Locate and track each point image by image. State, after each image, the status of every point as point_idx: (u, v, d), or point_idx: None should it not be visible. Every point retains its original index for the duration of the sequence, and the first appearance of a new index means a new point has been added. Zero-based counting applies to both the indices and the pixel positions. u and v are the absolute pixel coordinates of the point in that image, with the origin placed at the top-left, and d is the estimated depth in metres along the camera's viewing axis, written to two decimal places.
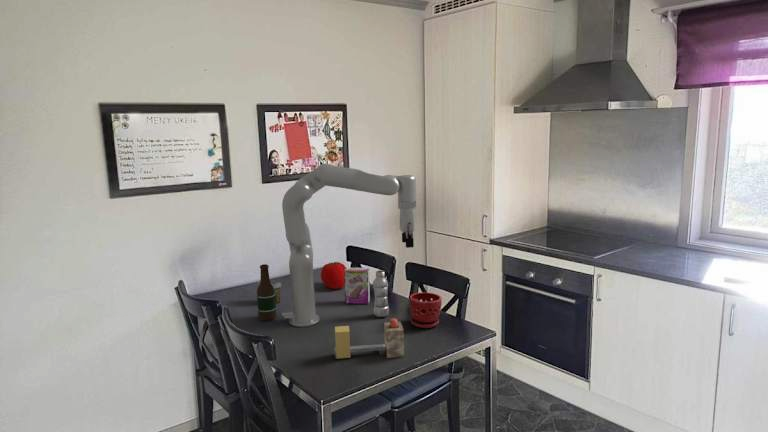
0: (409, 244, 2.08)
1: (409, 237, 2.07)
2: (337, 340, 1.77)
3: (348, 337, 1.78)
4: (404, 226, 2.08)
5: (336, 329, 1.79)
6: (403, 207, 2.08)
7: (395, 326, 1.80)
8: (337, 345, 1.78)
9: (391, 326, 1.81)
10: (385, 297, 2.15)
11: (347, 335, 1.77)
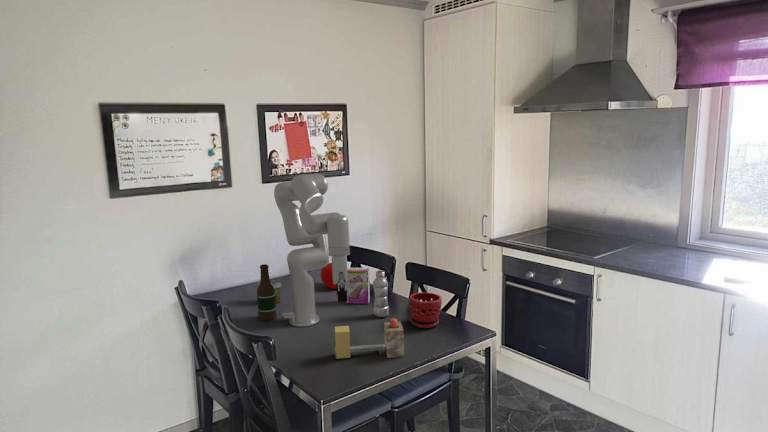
0: (341, 298, 1.74)
1: (341, 290, 1.73)
2: (337, 340, 1.77)
3: (348, 337, 1.78)
4: (335, 277, 1.74)
5: (336, 329, 1.79)
6: (333, 254, 1.74)
7: (395, 326, 1.80)
8: (337, 345, 1.78)
9: (391, 326, 1.81)
10: (385, 297, 2.15)
11: (347, 335, 1.77)
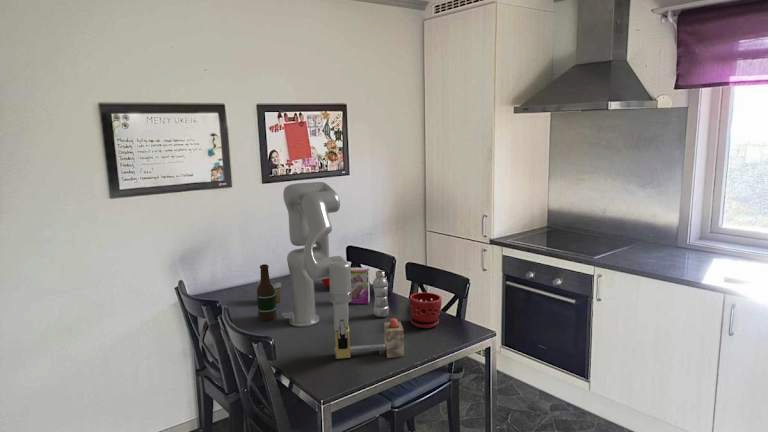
0: (342, 345, 1.76)
1: (342, 338, 1.75)
2: (337, 340, 1.77)
3: (348, 337, 1.78)
4: (336, 324, 1.74)
5: None
6: (335, 301, 1.74)
7: (395, 326, 1.80)
8: (337, 345, 1.78)
9: (391, 326, 1.81)
10: (385, 297, 2.15)
11: (347, 335, 1.77)
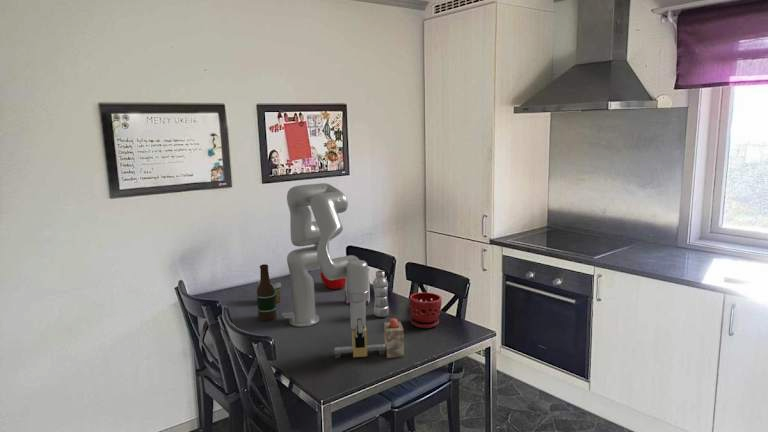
0: (359, 344, 1.77)
1: (359, 337, 1.76)
2: (354, 339, 1.78)
3: (365, 335, 1.78)
4: (353, 323, 1.74)
5: None
6: (352, 300, 1.75)
7: (395, 326, 1.80)
8: (354, 344, 1.78)
9: (391, 326, 1.81)
10: (385, 297, 2.15)
11: (364, 334, 1.78)
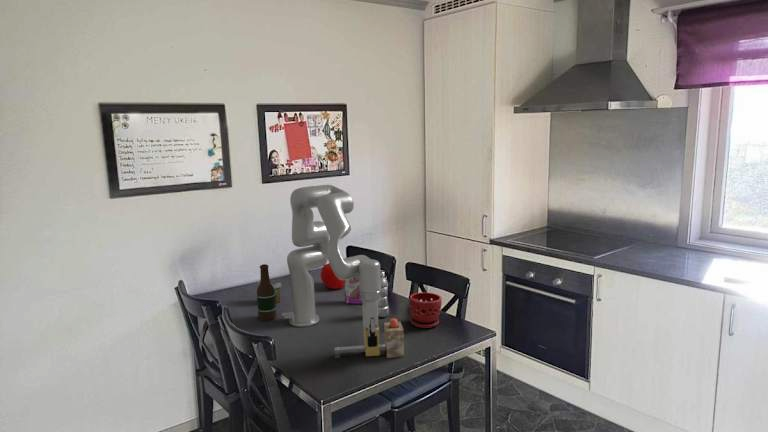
0: (372, 343, 1.78)
1: (371, 336, 1.77)
2: (367, 338, 1.78)
3: (377, 335, 1.79)
4: (366, 322, 1.75)
5: None
6: (365, 299, 1.75)
7: (395, 326, 1.80)
8: (367, 343, 1.79)
9: (391, 326, 1.81)
10: (385, 297, 2.15)
11: (377, 333, 1.79)
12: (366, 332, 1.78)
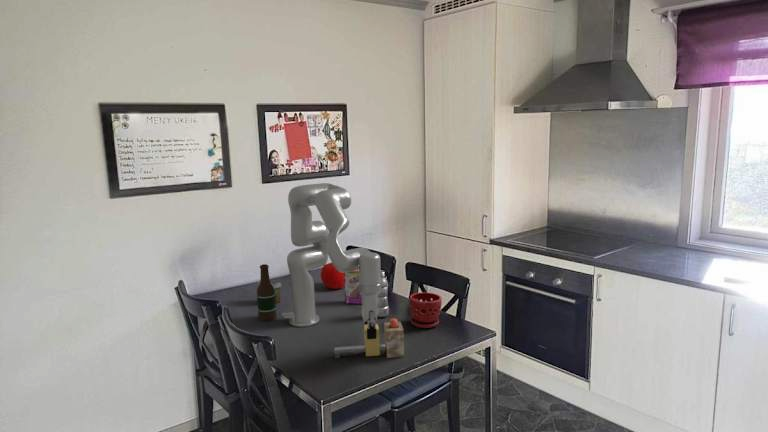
0: (371, 336, 1.76)
1: (371, 328, 1.75)
2: None
3: (377, 335, 1.79)
4: (365, 315, 1.75)
5: (365, 327, 1.80)
6: (365, 292, 1.75)
7: (395, 326, 1.80)
8: (367, 343, 1.79)
9: (391, 326, 1.81)
10: (385, 297, 2.15)
11: (377, 333, 1.79)
12: (366, 332, 1.78)
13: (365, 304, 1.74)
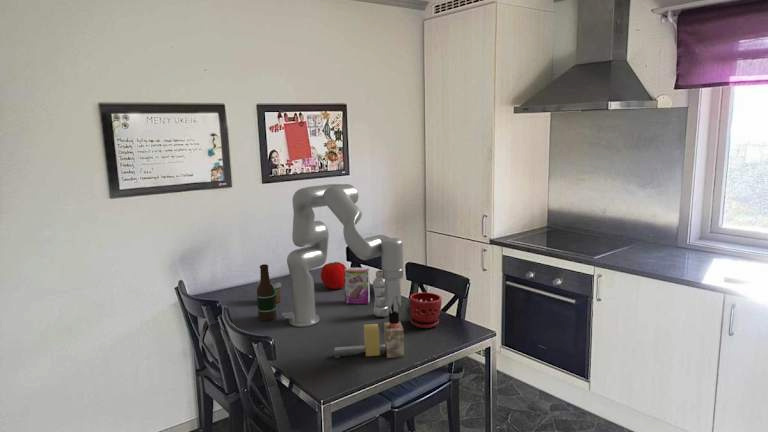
0: (393, 320, 1.80)
1: (393, 312, 1.79)
2: (367, 338, 1.79)
3: (377, 335, 1.79)
4: (389, 300, 1.75)
5: (365, 327, 1.80)
6: (388, 277, 1.75)
7: None
8: (367, 343, 1.79)
9: None
10: None
11: (377, 333, 1.79)
12: (366, 332, 1.78)
13: (389, 289, 1.74)
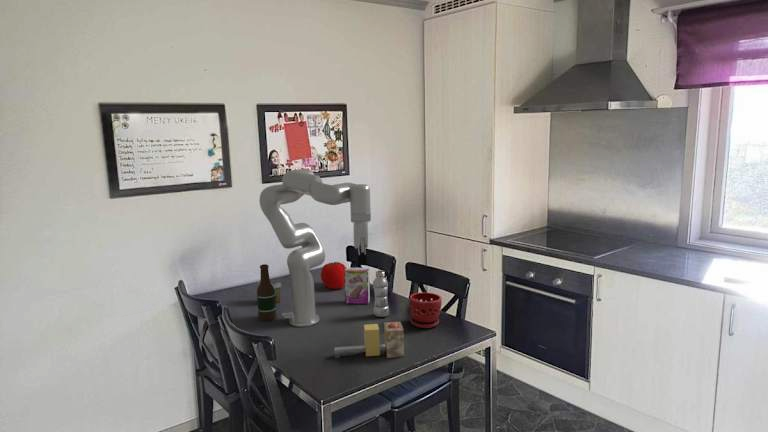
0: (361, 262, 1.91)
1: (361, 254, 1.90)
2: (367, 338, 1.79)
3: (377, 335, 1.79)
4: (356, 241, 1.86)
5: (365, 327, 1.80)
6: (355, 220, 1.87)
7: None
8: (367, 343, 1.79)
9: None
10: (385, 297, 2.15)
11: (377, 333, 1.79)
12: (366, 332, 1.78)
13: (356, 231, 1.86)
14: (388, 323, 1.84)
